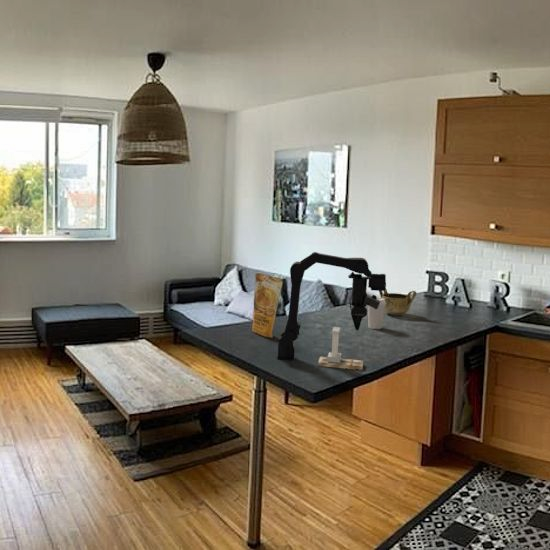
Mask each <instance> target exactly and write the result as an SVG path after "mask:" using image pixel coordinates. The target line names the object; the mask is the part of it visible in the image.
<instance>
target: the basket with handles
mask: <svg viewBox="0 0 550 550" xmlns="http://www.w3.org/2000/svg"><path fill="white" fill-rule="evenodd" d="M378 292H379V295H380V298H383V299H385V302H386V304H385V307H384V313H387V314H389V315H391V316H397V317H398V316H402V315H405V314H406V313H408V311H409V310H410V308H411V305H412V302H413V301H414V299H415V298H416V296H417V290H416V291H415V290H411V291H409V292H408V293H407V294H404V293H394V292H390V293H389V292H388V290H387V288H386V290H385V291H378ZM411 294H413V295H412V297H411Z"/></svg>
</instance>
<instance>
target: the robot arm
mask: <svg viewBox="0 0 550 550" xmlns="http://www.w3.org/2000/svg"><path fill="white" fill-rule="evenodd" d="M315 264H322V265H327V266H328V265H329V266H334V267H338V268H342V269H343V268H344V269H346V270H349V271H351V273H350V274H348V279H352V287H351V299H350V300H349V310H350V316H351V319H352V323H353V325H354V329H355V331H359V330H360V326H361V323H362V321H363V319H364V318H365V317H366V316H368V306H371V307H373V308H374V309H377V308H378V306H379V304H380V301H379V300H377V298H378V297H377V295H375V294H372V295H371V296H370V295H368V292H367V288H368V289H369V288H370V291H377V292H379V291H382V292H384V291H385V290H386V289H387V288H386V287H387V279H386V276H387V275H386V273H372V271H371V270H370V269H369V263H368V261H367V260H366V258H363V257H342V256H338V255H337V256H336V255H330V254H326V253H319V252H316V251H313V252H312V253H311V254H309V255H308V256H306V257H305V258H303V259H302V260H301V261H295V262H293V263H292V264H291V267H290V269H289V273H290V283H291V284H290V285H291V289H290V299H289V309H288V319H287V321H286V325H285V329H284V332H282V333H281V334H280V335H279V338H278V342H277V343H278V344H277V357H276V359H277V360H288V361H290V360H291V361H293V360H294V358H295V355H296V346H295V341H297V339H298V337H299V336H300V335H301V331H302V330H301V325H302V322H301V321H299V317H298V316H299V308H300V307H299V305H300V296H301V285H302V282H303V278H304V276H305V272H306V271H307V270H308V269H309V268H312V266H314V265H315ZM362 274H363V275H362Z"/></svg>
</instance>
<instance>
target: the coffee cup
mask: <svg viewBox="0 0 550 550" xmlns="http://www.w3.org/2000/svg"><path fill="white" fill-rule="evenodd" d="M377 300H379V301H380V304H379V306H378V308H377V309H374V308H373V307H371V306H368V305H367V320H368V321H367V323H368V324H367V325H368V326H367V328H369V329H371V330H372V329H373V330H380V329H382V324H383V319H384V313H385V311H384V307H385V304H386V302H385V299H383V298H381V297H377Z"/></svg>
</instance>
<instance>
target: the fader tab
mask: <svg viewBox="0 0 550 550" xmlns="http://www.w3.org/2000/svg"><path fill="white" fill-rule="evenodd" d="M340 332H341V327H337V326H333V327H332V331H331V335H332V340H331V341H332V342H331V343H332V344H331V352H330V351H329V352H328V355H327V356H326V357H327V362H336V363H340V360H341V359H342V352H339V337H340V335H339V334H340Z"/></svg>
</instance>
